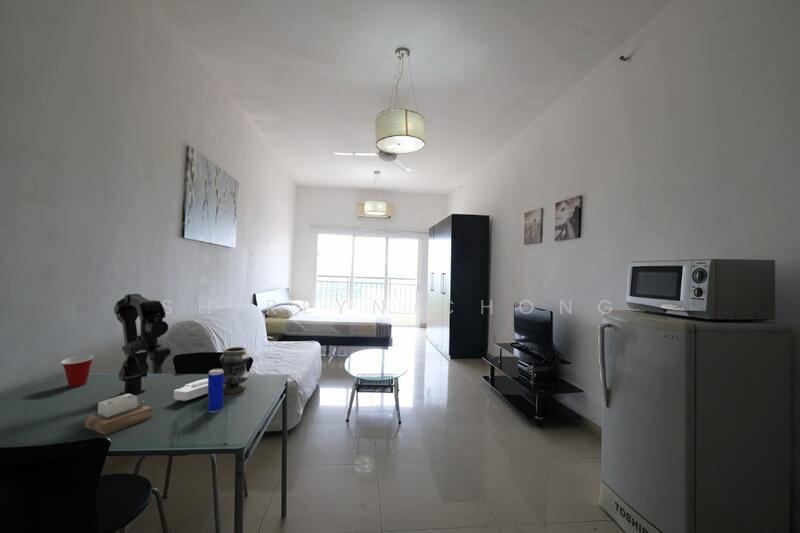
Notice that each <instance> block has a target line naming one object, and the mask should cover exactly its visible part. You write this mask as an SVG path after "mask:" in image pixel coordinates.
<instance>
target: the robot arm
mask: <svg viewBox="0 0 800 533" xmlns="http://www.w3.org/2000/svg"><path fill="white" fill-rule="evenodd" d="M113 311H114V312H113V313H114V314H115V317H116V320H118V321H119V323H121V326H122V332H123V340H124V345H123V346H122V347H121V349H122V351H123V355H125V358H124V360H123V361H122V365H121V368H120V371H119V373H118V380H119V381H121V382H124V385H123V386H124V389H123V390H124V391H123V390H122V391H120V392H119V394H120V395H125V394H128V393H129V394H132V395H136V394H139V393H143V392H146V389H143V388H142V386H143V384H142V379H143V378H145V377H148V372H149V366H150V365H149V363H148V362H147V359H149V360H150V361H151V362H152V371H153V374H154V375H156V374H158V372H159V371H160V369H161V367H162V366H163V363H164V362H165V360H166V359H167V358H168V357H169V356H170V355H171V352H172V350H171V348H169V347H166V346H162V347H161V344H159V338H161V337H162V336H163V335H165V334H167V332H168V330H169V324H168V323H167V322H166V321H164V319H165V318H166V314H167V313H166V310H165V308H164V306H163V304H162V302H161V301H160V300H155V299H151V300H150V299H147V298H146V297H143V296H142V295H141V294H140V293H128V294H125V296H124V297H123V298H121V299H120V300H117V302H116V303H115V306H114V308H113ZM138 317H139V321H140V332H139V335H138V328H137V319H138ZM148 356H149V357H148Z"/></svg>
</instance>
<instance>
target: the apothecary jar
mask: <svg viewBox="0 0 800 533" xmlns="http://www.w3.org/2000/svg"><path fill="white" fill-rule="evenodd" d="M223 351H224V352H223V353H222V355H221V356H220V357H219V361H220V363H221V364H222V369H223V371H224V384H225V385H226V386H224V387H223V394H238V393H241V392H244V391H245V389H247V387H246V386H245V384H243V383H245V382H246V381H247V380H248V379H249V377H250V374H249V371H247V362H248V361H249V359H250V354H249V353H248V352H247V350H246V348H245V347H243V346H234V347H233V346H232V347H231V346H230V347H227V348H226V349H224V350H223Z"/></svg>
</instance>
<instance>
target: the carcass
mask: <svg viewBox="0 0 800 533" xmlns="http://www.w3.org/2000/svg"><path fill="white" fill-rule="evenodd" d="M152 417H153V407H151V406H147V405H146V404H145V401H144V400H141V401H140V403H138V402H137V407H136V408H133V409H130V410H127V411H124V412H121V413H118V414H115V415H112V416H109V417H105V416H102V414H98V412H95V413H91V414H88V415H86V416H85V417H84V427H85V428H87V429H89V430H92V431H94V432H97V433H99V434H102V435H104V436H105V435H109V434H111V433H113V432H116V431H119V430H122V429H125V428H126V427H130V426H133V425H135V424H138V423H142V422H144V421H146V420H149V419H151V418H152Z"/></svg>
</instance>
